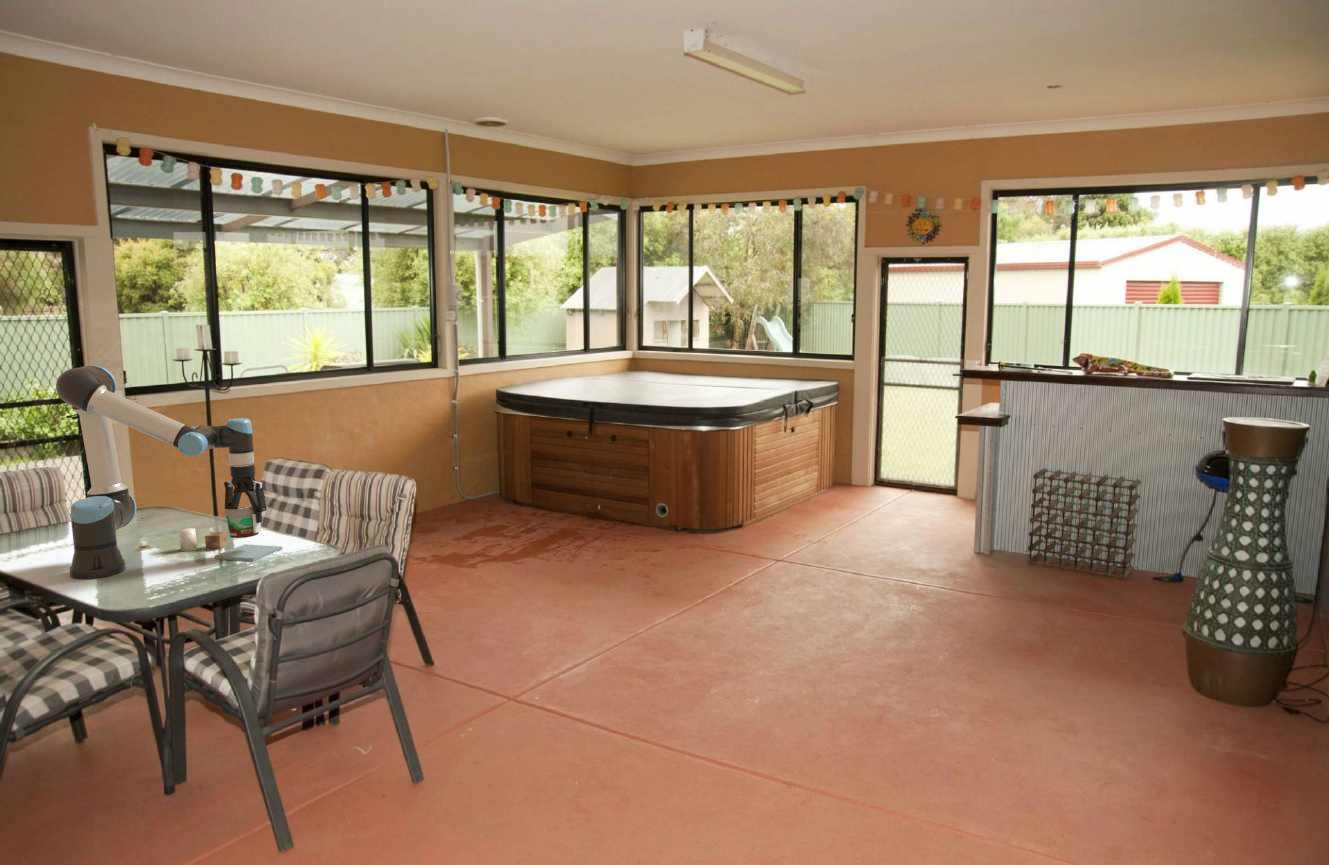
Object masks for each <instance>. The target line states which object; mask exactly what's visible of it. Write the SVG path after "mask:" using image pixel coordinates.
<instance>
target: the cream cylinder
mask: <svg viewBox="0 0 1329 865" xmlns="http://www.w3.org/2000/svg"><path fill="white" fill-rule="evenodd" d="M178 532H179V535H178V536H179V544H180V551H181V552H191V551H195V549H196V550H197V549H198V545H197V535H196V528H195V527H186V528H181V529H179V530H178Z"/></svg>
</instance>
